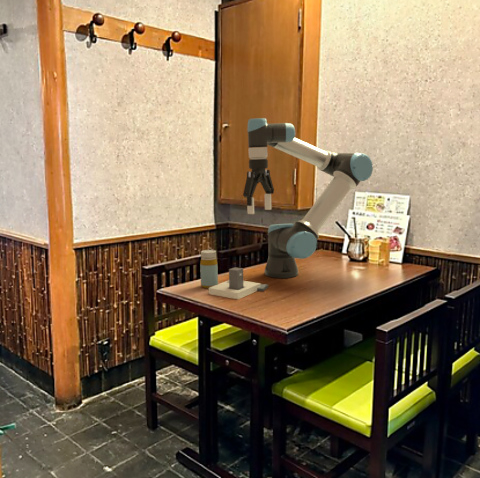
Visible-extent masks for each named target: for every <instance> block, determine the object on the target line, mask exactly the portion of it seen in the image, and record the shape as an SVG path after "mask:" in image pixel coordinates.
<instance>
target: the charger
mask: <svg viewBox="0 0 480 478" xmlns="http://www.w3.org/2000/svg"><path fill="white" fill-rule="evenodd" d="M228 280H229V289H234V290H240V289H242V288H243V281H244V268H243V267H232V268H229V269H228Z"/></svg>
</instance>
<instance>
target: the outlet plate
mask: <svg viewBox="0 0 480 478" xmlns="http://www.w3.org/2000/svg"><path fill="white" fill-rule="evenodd" d="M261 284H262V283H260V282H253V281H246V280H243V288H242V289H240V290H234V289H229V279H228V280H225V281H223V282H221V283H218V285H215V286H212V287H210V288H209V289H208V295H212V296H218V297H223V298H229V299H234V300H240V299H242V298H244V297H246V296H247V297H248V296H249V295H251V294H253V293H255V292H258V291H257V288H259V287H261Z"/></svg>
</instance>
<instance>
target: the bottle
mask: <svg viewBox="0 0 480 478" xmlns="http://www.w3.org/2000/svg"><path fill="white" fill-rule="evenodd" d="M200 258H201V259H200V264H199V265H200V266H199V267H200V286H201V288H203V289H208V290H209V288H210V287H212V286H215V285H218V284H219V280H218V279H219V278H218V277H219V276H218V272H219V271H218V261H217V250H214V249H204V250H201V251H200Z"/></svg>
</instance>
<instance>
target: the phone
mask: <svg viewBox="0 0 480 478" xmlns="http://www.w3.org/2000/svg"><path fill="white" fill-rule="evenodd" d="M268 288H269V284H267V283H266V284H265V283H264V284H263V283H261V287H259V288H257V291H256V292H265V291H266V290H267V289H268Z"/></svg>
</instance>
